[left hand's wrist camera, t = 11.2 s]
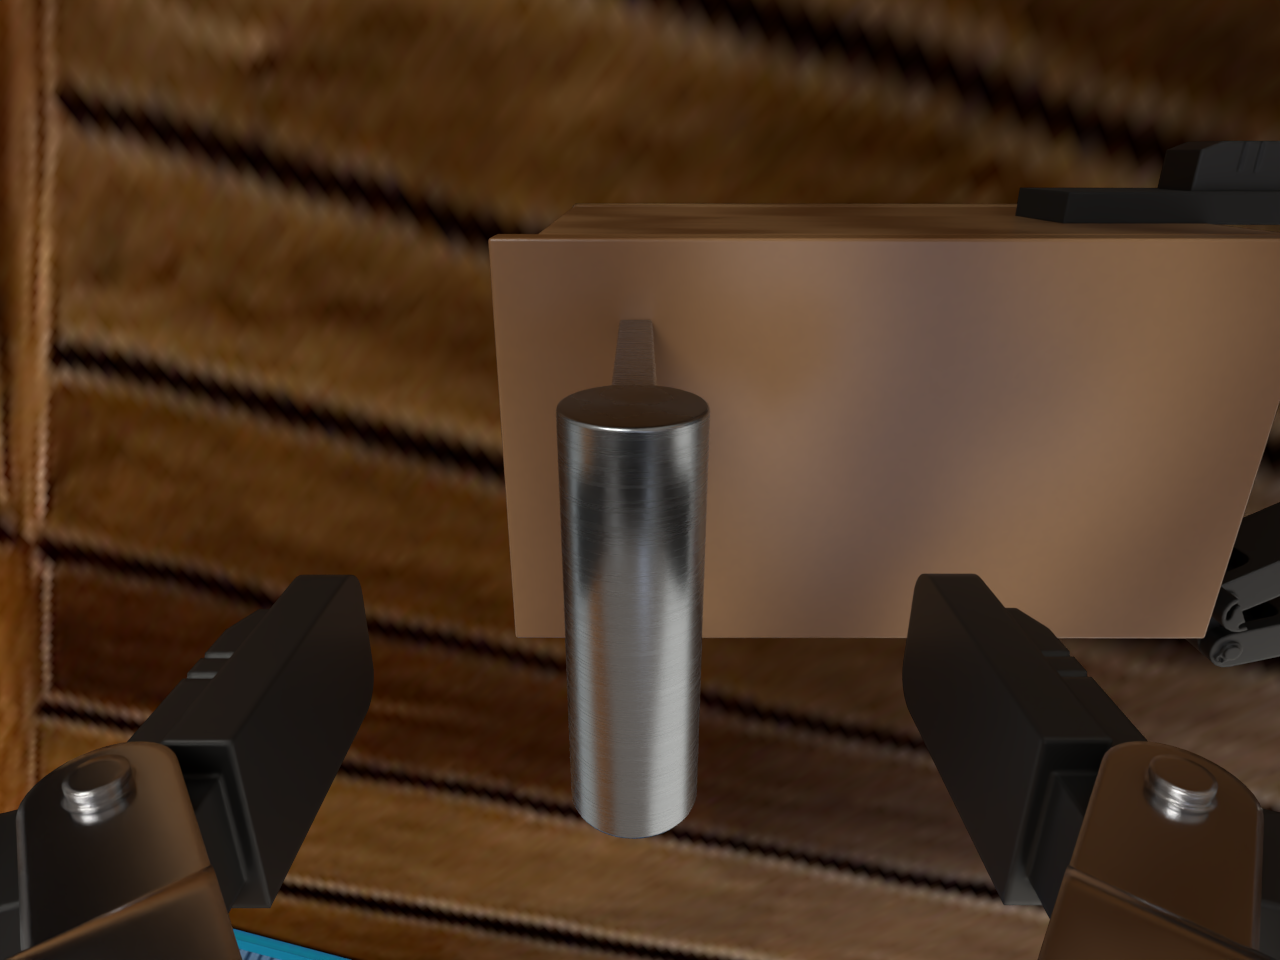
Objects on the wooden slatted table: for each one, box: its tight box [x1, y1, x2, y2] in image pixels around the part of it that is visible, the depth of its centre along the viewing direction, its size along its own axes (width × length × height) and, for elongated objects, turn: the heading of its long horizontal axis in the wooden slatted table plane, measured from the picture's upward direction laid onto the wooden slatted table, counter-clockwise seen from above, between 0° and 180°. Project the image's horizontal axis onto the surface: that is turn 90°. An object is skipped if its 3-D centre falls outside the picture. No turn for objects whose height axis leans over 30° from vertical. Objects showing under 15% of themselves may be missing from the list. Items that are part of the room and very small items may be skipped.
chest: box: [539, 204, 1280, 235], centre depth 24 cm, size 16×10×11 cm, turn 90°
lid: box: [488, 234, 1280, 839], centre depth 15 cm, size 17×10×8 cm, turn 90°
